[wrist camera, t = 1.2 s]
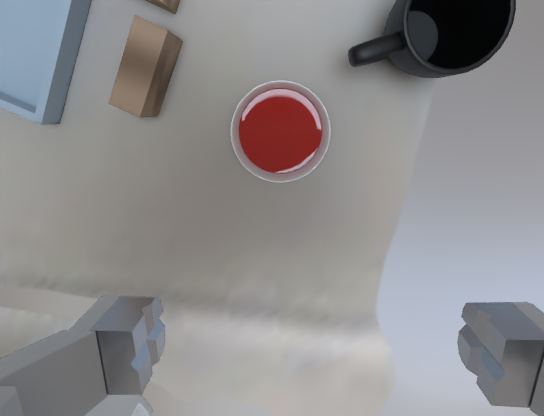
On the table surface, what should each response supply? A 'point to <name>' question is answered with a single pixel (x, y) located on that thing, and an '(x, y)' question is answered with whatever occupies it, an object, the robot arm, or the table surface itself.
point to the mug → (439, 36)
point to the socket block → (167, 4)
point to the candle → (280, 131)
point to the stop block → (145, 69)
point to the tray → (39, 55)
